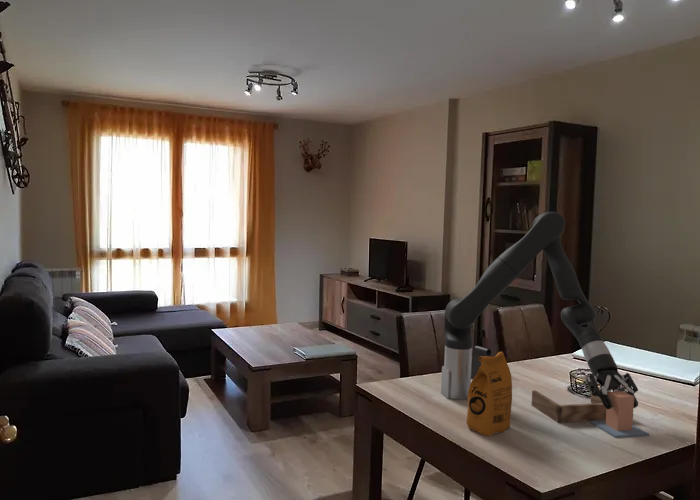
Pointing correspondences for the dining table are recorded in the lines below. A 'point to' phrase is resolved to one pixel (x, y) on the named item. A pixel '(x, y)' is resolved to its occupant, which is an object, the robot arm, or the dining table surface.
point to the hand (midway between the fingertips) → (622, 407)
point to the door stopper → (475, 362)
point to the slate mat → (618, 434)
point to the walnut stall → (569, 409)
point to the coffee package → (490, 396)
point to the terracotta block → (620, 411)
